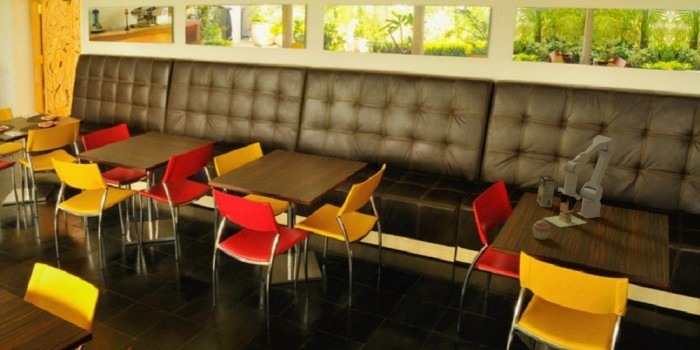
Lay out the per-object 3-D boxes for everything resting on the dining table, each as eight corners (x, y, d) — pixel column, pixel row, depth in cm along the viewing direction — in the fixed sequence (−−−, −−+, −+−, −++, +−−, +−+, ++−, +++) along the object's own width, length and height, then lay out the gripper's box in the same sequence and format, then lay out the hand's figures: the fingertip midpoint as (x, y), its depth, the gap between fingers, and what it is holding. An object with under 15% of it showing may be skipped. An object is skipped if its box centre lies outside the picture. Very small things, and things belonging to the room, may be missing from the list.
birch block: (565, 218, 320) (566, 211, 319) (571, 221, 316) (572, 214, 315) (558, 219, 318) (559, 212, 317) (564, 222, 314) (565, 215, 313)
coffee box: (536, 201, 346) (539, 175, 341) (547, 201, 346) (551, 175, 341) (540, 207, 337) (544, 179, 332) (552, 207, 337) (556, 180, 332)
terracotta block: (566, 209, 318) (567, 202, 317) (572, 212, 314) (573, 204, 313) (559, 210, 317) (561, 202, 315) (565, 212, 313) (567, 205, 311)
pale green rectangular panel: (569, 214, 326) (569, 214, 326) (587, 223, 315) (587, 222, 315) (543, 218, 319) (543, 217, 319) (560, 227, 308) (560, 226, 308)
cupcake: (533, 232, 301) (535, 213, 298) (552, 236, 296) (554, 217, 293) (528, 238, 293) (530, 219, 290) (547, 243, 289) (550, 223, 286)
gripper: (554, 180, 316) (551, 204, 320) (574, 189, 303) (570, 214, 307) (565, 179, 319) (561, 203, 323) (585, 187, 306) (581, 212, 310)
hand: (566, 208), depth 315 cm, fingers closed on terracotta block, 4 cm apart
